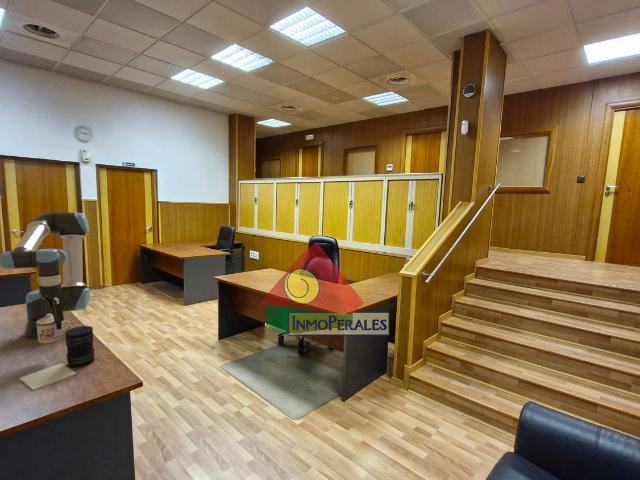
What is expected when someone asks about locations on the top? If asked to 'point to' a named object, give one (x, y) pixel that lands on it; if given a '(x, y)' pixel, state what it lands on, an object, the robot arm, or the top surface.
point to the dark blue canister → (80, 346)
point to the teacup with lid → (48, 329)
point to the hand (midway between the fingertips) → (54, 333)
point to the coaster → (47, 376)
